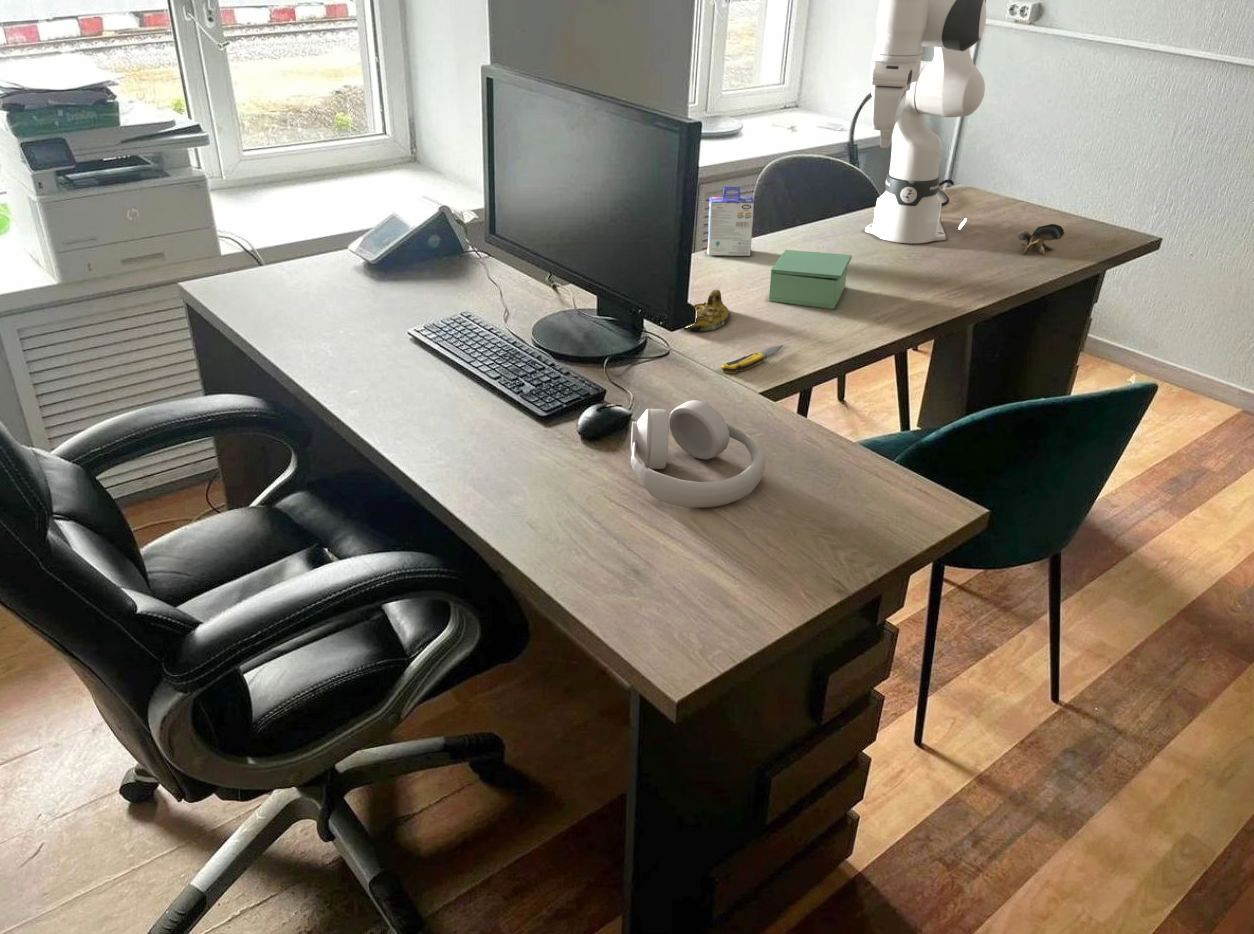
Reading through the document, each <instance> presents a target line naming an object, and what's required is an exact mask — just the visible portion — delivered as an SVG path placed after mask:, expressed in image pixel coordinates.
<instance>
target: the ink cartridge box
mask: <svg viewBox="0 0 1254 934" xmlns="http://www.w3.org/2000/svg"><path fill="white" fill-rule="evenodd" d="M729 191H735V192H736V193H727V192H729ZM754 209H755V201H754V198H753V196H741V187H740V186H723V196H710V197H709V204H708V225H707V226H708V229H707V249H706V250H707V256H730V257H731V256H733V257H734V256H735V257H737V256H738V257H739V256H740V257H751V252H752V241H753V240H752V239H753V224H754V213H755V212H754V211H755V210H754Z"/></svg>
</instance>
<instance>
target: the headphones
mask: <svg viewBox="0 0 1254 934" xmlns="http://www.w3.org/2000/svg"><path fill="white" fill-rule="evenodd" d="M669 432H670V433H669ZM669 434H671V436H672V438H673V440H674V442H675V443H676V444H677V446H679V448H681V449H682V451H684V452H686V453H687V454H688V455H690V456H692V457H694V458H696V459H701V460H710V459H714V458H715V457H717V456H718V455H720V454H722V453H723V452H724V451H725V450H726V449H727V448H728V445H729V443H730V438H731V439H733V440H735V441H738V442H739V443H741V444H742V445H744V447H746V448H745V449H747V451H748V452H749V454H750V457H751V459H750V460H751V462H750V464H749V466H748V467H747V468H746V469H744V470H743V471H742V472H741V473H738V474H736V475H733V476H732V477H729V478H726V479H722V480H715V481H696V480H695V481H693V480H685V479H679V478H677V477H673V476H670V475H667V474H663V473H661V472H658V471H655V470H654V469H656V470H663V469H665V468H666V466H667V464H668V463H667V462H668V453H669V438H670V437H669ZM630 453H631V457H630V465H631V468H632V470H633V472H634V473H635V475H636V477H638V478H639V481H640V482H641V483H642V484H643V488H644V490H646V491H647V493H648V494H649V495H650V496H651V497H653V498H654V499H656V500H657V501H659V502H662V503H665V504H667V505H672V506H678V507H682V508H686V509H695V508H697V509H698V508H714V507H720V506H724V505H727V504H732V503H734V502H737V501H739V500H740V499H742V498H744V497H746V496H748V495H750V494H751V493H752V492H753V490H755V488H756V487H757V486H758V485H759V484H760V482H761V480H762V478H763V475H764V473H765V470H766V456H765V452H764V451H763V449H762V447H761V445H760V444H758V443H757V442H756V441H755V439H754V438H753V437H752V436H751V435H750V434H749V433H746V432H745V431H744V430H741V429H739V428H738V427H735V426H733V425H731V424H729V423H727V422H726V420H725V418H724V416H723V415H722V414H721V412H719V410H718V409H715V408H714V407H713V406H711V405H710V404H709V403H707V402H704V401H702V400H698V399H697V400H695V399H691V400H688V401H685V402H683V403H682V404H680V405H678V406H676V407H675V408H674V409H673V410H672V411H671V412H670V413H668V411H667V409H666V408H665V409H663V408H646V409H645V411H644V412H643V413H642V414H641V416H640V417H639V418H638V420H637V421H634V420H633V421H632V422H631V433H630Z"/></svg>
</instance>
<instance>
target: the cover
mask: <svg viewBox="0 0 1254 934" xmlns="http://www.w3.org/2000/svg"><path fill="white" fill-rule="evenodd" d="M852 256H853V255H852V254H844V253H831V252H818V251H805V250H793V249H784V250H783V253H782V254H781V255H780V256H779V258H778V259H777V260H776V262H775V263H774V265H773V266H772V267H771V269H770V274H771V273H779V274H790V275H801V276H812V277H823V278H835V279H841V277H842V275H843V273H844V271H845V269H846V268H847V269H848V267H849V263H850V262H851V260H852ZM847 266H848V267H847Z"/></svg>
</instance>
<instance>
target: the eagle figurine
mask: <svg viewBox="0 0 1254 934" xmlns="http://www.w3.org/2000/svg"><path fill="white" fill-rule="evenodd" d="M1064 235H1065V230H1064V229H1063V227H1062V225H1059V224H1056V223H1050V224H1045V225H1041V226H1038V227H1036V229H1035V230H1034V231H1033V232H1032V234H1030V232H1029V231H1028V230H1021V231H1019V232H1018V233H1017V235H1016V236H1017V237H1016V238H1017V239H1018V240H1019V241H1024V243H1023V242H1022V243H1021V244H1020V246H1023V247H1024V250H1023V255H1026V254H1027V253H1029V252H1030V251H1031V248H1032V247H1033V248H1034V249H1036V250H1038V251H1039V252H1041V253H1042V255H1043V256H1045V254H1046V253H1045V252H1046V251H1045V250H1046V249H1049V250H1053V249H1052V248H1051V247H1049V246H1048V245H1047V244H1046V243H1045V241H1046V242H1049V241H1052V240H1054V241H1056V240H1061V239H1062V237H1064Z"/></svg>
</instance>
